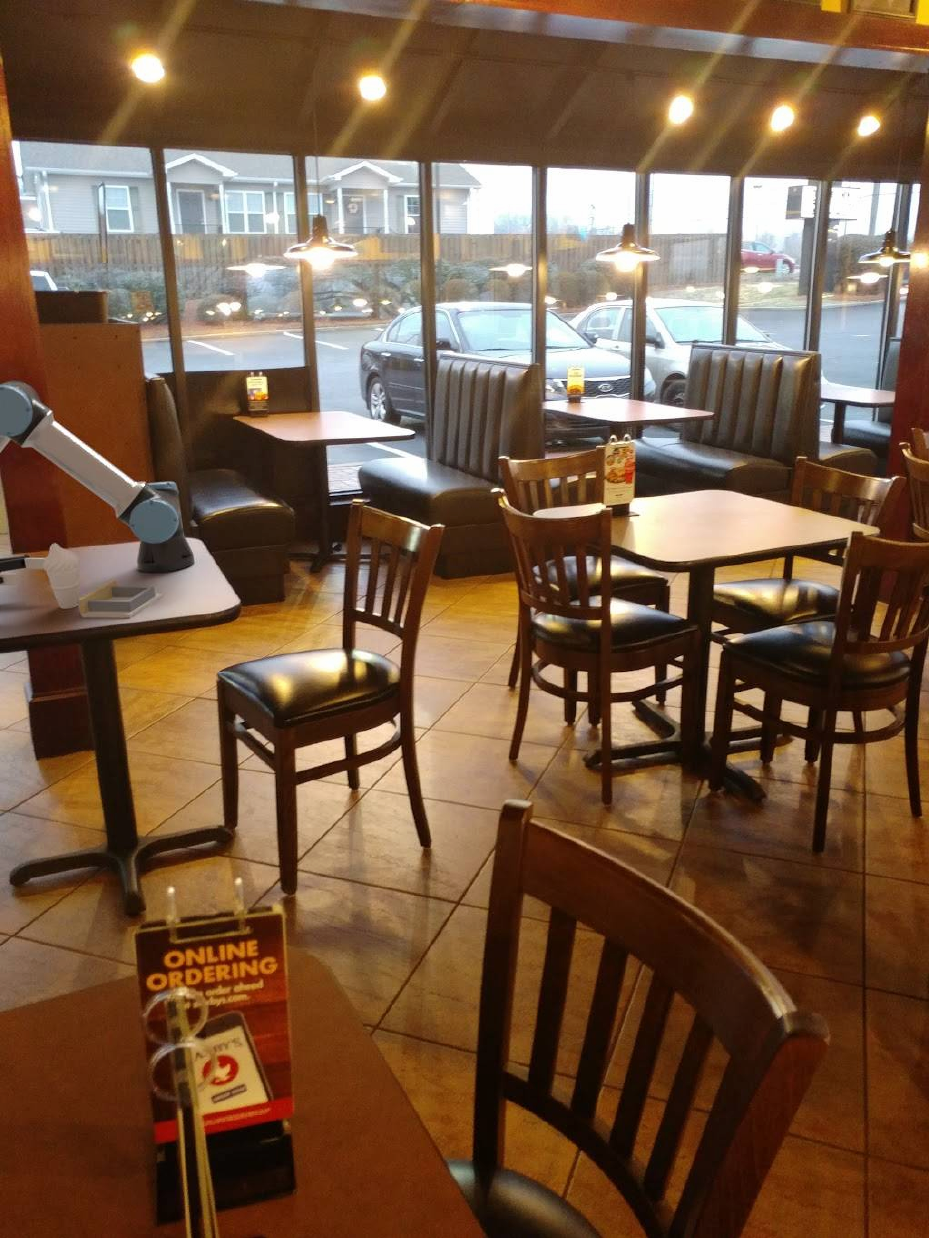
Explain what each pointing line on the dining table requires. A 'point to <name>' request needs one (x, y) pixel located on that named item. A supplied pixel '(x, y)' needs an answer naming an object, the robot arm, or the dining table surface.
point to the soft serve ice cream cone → (63, 575)
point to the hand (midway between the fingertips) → (33, 571)
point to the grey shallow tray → (117, 600)
